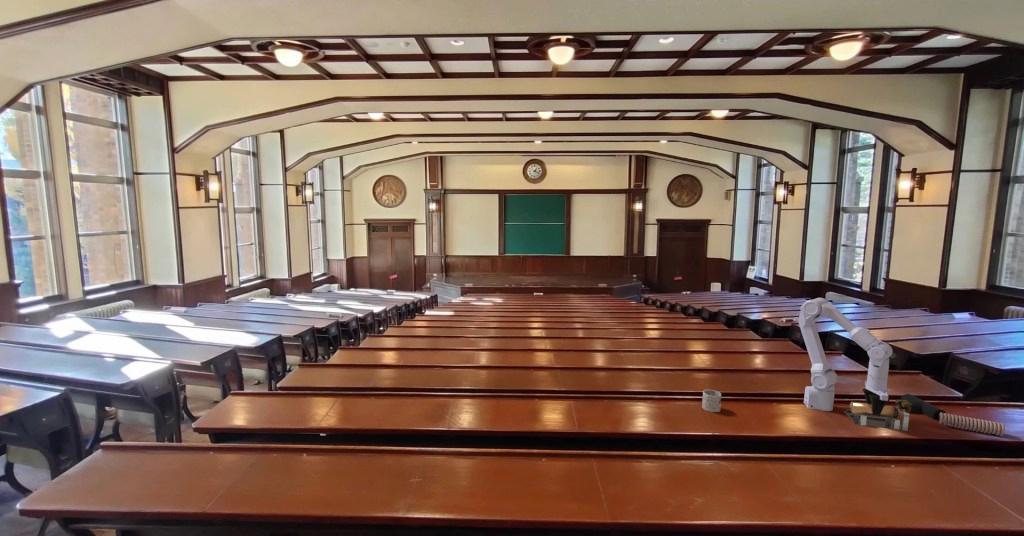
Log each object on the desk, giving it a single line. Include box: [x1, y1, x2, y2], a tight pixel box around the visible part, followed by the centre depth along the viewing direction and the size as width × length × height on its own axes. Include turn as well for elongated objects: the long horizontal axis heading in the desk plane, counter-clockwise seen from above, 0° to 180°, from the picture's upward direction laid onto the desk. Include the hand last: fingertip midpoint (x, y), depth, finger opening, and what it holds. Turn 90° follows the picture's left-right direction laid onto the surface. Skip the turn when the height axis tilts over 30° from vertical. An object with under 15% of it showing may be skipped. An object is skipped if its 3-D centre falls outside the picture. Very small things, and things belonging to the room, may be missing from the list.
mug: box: [701, 389, 722, 413], centre depth 186 cm, size 10×7×7 cm, turn 179°
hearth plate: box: [843, 408, 909, 432], centre depth 174 cm, size 16×12×2 cm
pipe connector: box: [894, 393, 947, 421], centre depth 182 cm, size 12×5×15 cm
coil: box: [938, 412, 1006, 437], centre depth 169 cm, size 5×5×18 cm
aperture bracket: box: [899, 409, 910, 432], centre depth 167 cm, size 2×4×6 cm, turn 162°
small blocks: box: [853, 413, 901, 431], centre depth 171 cm, size 12×7×4 cm, turn 72°
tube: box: [849, 401, 901, 419], centre depth 171 cm, size 14×4×4 cm, turn 72°
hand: (873, 411), depth 171 cm, fingers closed on tube, 4 cm apart
